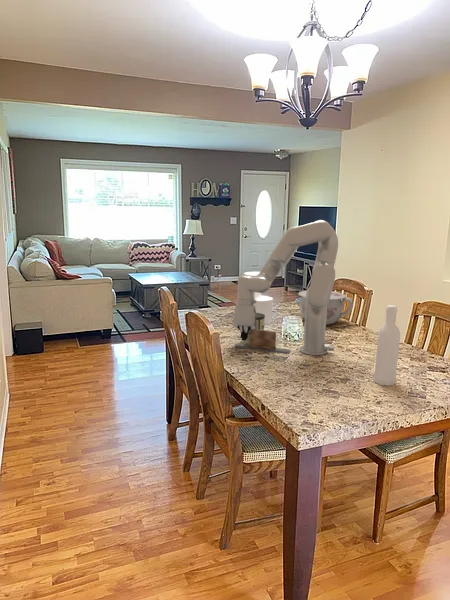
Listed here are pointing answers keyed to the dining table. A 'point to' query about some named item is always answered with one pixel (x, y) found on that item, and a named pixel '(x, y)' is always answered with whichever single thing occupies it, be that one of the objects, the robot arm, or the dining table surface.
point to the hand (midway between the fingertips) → (244, 339)
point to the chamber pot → (329, 306)
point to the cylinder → (262, 302)
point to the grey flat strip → (263, 348)
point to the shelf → (262, 339)
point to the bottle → (387, 349)
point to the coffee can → (258, 324)
